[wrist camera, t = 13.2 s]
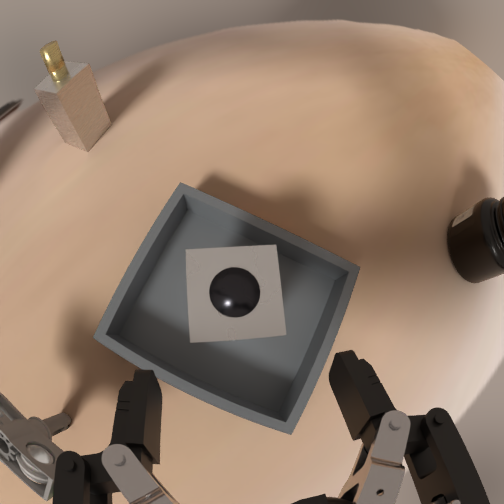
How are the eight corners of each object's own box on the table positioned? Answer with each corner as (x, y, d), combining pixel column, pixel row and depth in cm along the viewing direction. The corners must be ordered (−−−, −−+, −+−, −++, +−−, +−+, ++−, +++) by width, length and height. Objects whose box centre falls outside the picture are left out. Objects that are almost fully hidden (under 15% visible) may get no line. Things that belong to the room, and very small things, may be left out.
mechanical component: (32, 376, 18) (-39, 380, 9) (115, 441, 18) (63, 487, 8) (24, 398, 17) (-42, 409, 8) (105, 462, 17) (56, 510, 7)
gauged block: (65, 142, 26) (19, 61, 13) (87, 116, 28) (54, 33, 15) (87, 152, 26) (41, 62, 13) (111, 124, 27) (79, 32, 15)
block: (202, 341, 21) (189, 342, 12) (199, 285, 23) (185, 248, 14) (259, 336, 22) (286, 334, 13) (254, 282, 23) (276, 244, 14)
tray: (109, 338, 21) (92, 337, 17) (186, 199, 25) (182, 179, 22) (281, 422, 20) (291, 434, 17) (344, 274, 25) (361, 263, 22)
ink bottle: (483, 227, 29) (541, 192, 18) (489, 288, 27) (557, 263, 15) (439, 209, 29) (503, 160, 18) (445, 278, 26) (525, 244, 15)
